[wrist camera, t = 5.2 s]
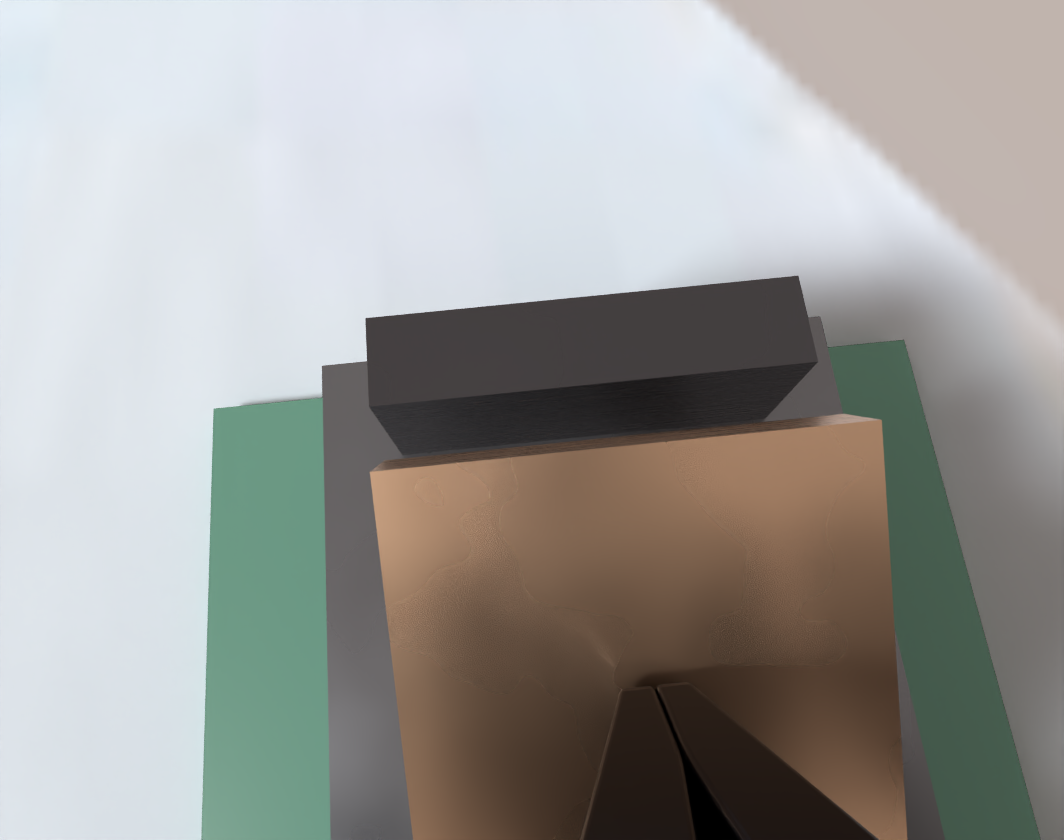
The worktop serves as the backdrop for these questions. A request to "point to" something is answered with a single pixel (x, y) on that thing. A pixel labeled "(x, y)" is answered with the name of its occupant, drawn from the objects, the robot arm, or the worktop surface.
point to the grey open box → (534, 419)
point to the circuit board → (301, 623)
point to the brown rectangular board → (638, 613)
